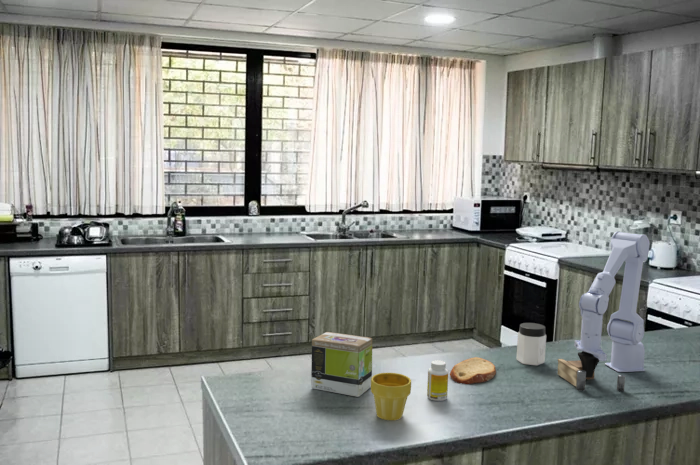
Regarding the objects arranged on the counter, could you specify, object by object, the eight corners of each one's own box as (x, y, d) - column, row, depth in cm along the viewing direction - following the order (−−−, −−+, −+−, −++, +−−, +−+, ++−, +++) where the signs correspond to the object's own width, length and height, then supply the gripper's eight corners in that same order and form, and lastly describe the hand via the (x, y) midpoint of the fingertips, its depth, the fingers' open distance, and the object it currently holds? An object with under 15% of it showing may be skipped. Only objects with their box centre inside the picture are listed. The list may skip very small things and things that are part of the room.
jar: (534, 367, 210) (536, 331, 209) (512, 361, 216) (514, 325, 214) (548, 361, 216) (551, 326, 215) (526, 355, 222) (528, 321, 221)
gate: (580, 386, 193) (581, 370, 192) (575, 386, 193) (576, 371, 192) (561, 373, 204) (562, 358, 203) (556, 374, 203) (557, 359, 203)
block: (583, 372, 206) (584, 360, 206) (594, 379, 201) (594, 366, 200) (565, 373, 205) (566, 360, 205) (576, 379, 199) (576, 367, 199)
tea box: (372, 386, 190) (373, 337, 188) (358, 398, 181) (359, 346, 179) (325, 378, 196) (326, 330, 194) (309, 389, 187) (310, 338, 185)
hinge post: (582, 387, 193) (583, 369, 192) (586, 390, 190) (587, 372, 190) (574, 388, 192) (575, 370, 192) (578, 391, 190) (580, 372, 189)
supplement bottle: (451, 400, 181) (452, 364, 180) (434, 403, 178) (435, 366, 177) (439, 393, 186) (441, 358, 185) (423, 396, 183) (424, 360, 182)
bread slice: (485, 363, 215) (485, 352, 214) (512, 382, 197) (513, 370, 197) (434, 366, 210) (434, 355, 209) (457, 386, 193) (458, 374, 192)
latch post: (621, 388, 193) (622, 374, 192) (625, 391, 191) (626, 376, 190) (615, 389, 192) (616, 374, 192) (619, 391, 190) (620, 377, 190)
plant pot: (416, 421, 166) (417, 384, 165) (377, 425, 163) (378, 387, 162) (401, 406, 176) (402, 370, 175) (364, 409, 173) (365, 373, 172)
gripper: (566, 326, 203) (563, 369, 205) (592, 340, 189) (589, 385, 191) (587, 326, 204) (584, 368, 206) (614, 339, 190) (611, 384, 192)
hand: (588, 376), depth 198 cm, fingers closed
